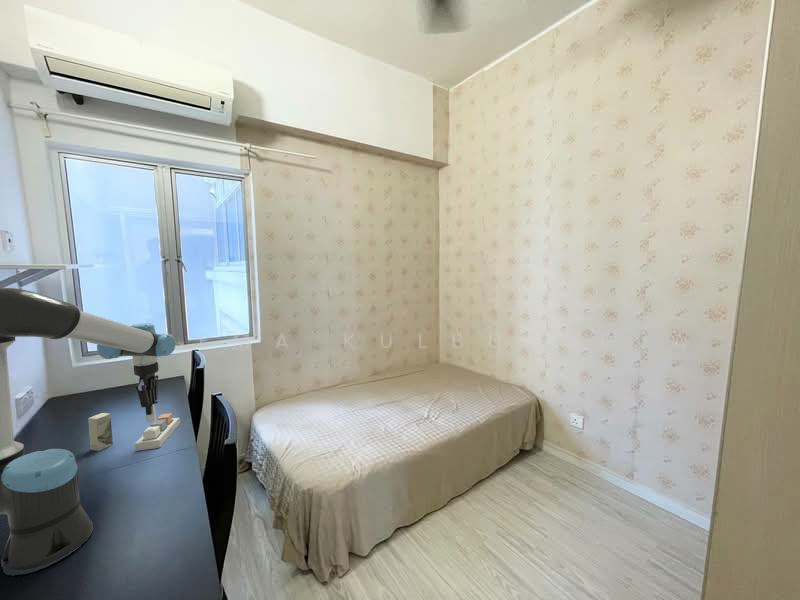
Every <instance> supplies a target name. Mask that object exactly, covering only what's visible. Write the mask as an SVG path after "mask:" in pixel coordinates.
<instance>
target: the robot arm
mask: <svg viewBox="0 0 800 600" xmlns="http://www.w3.org/2000/svg"><path fill="white" fill-rule="evenodd" d="M17 337H18V338H19V337H27V338H29V337H30V338H32V337H33V338H34V337H35V338H45V339H50V340H60V339H64V338H67V339H71V340H75V341H81V342H85V343H89V344H95V345H96V350H97V354H98V355H99V356H100V357H101V358H103V359H105V360H112V359H118V358H119V357H132V364H133V374H134V375H135V376H138V377H139V378H138V379H139V380H138V383H139V385H136V386H135V390H136V391H137V394H138V398H139V403H140V406H141V407H140V408H144V412H145V421H146V423H153V422H154V421H156V420H157V414H156V413H157V412H156V404H158V403H159V402H158V401H157V400H158V394H159V393H158V387H159V384H158V382H159V375H156V373H158V372H159V369H160V367H159V362H158V360H159V359H158V358H159V357H167V356H169V355H171V354H173V352H174V351H175V349H176V343H177V342H176V339H175V337H174V336H173V335H171V334H164V333H161V334H159V333H157V332H156V329H155V325H154V324H153V323H149V322H145V323H135V324H132V325H127V324H124V323H121V322H119V321H114V320H111V319H108V318H104V317H102V316H99V315H95V314H91V313H90V312H89V313H88V312H85V311H83V310H81V309H80V308H79V306H77V305H76V304H74V303H70V302H66V301H64V300H60V299H59V298H58V299H57V298H55V297H52V296H48V295H44V294H41V293H38V292H34V291H31V290H26V289H21V288H15V287H0V515H6V516H7V521H8V522H7V523H8V526H9V536H8V539H7V542H6V544H5V548H4V551H3V554H2V556H1V568H2V567H3V568H5V569H8V570H26V569H32V568H36V567H38V566H41V565H45V564H47V563H50V562H52V561H54V560H57V559H59V558H61V557H62V556H64V555H66V554H68V553H69V552H70V551H73V550H74V549H76V548H77V547H79V546H80V545H82V544H83V543H84V542H85V541H86V540H87V539H88V538H89V536H90V535H91V533H92V534H93V532H94V527H93V521H92V519H91V518H90V516H89V515H88V514H87V512H86V511H85V510H84V509H85V508H83V506H82V505H81V497H80V496H81V495H80V486H79V485H80V484H79V474H78V473H79V471H78V464H77V462H76V457H75V455H74V453H73V452H71V451H70V450H68V449H63V448H49V449H45V450H42V451H41V450H37V451H33V452H30V453H27V454H25V446H24V444H23V443H22V442H20V441H19V442H18V441H15V438H14V426H13V425H14V423H13V414H12V411H13V410H12V402H11V401H12V399H11V398H12V397H11V389H10V387H11V385H10V376H9V366H8V363H9V362H8V354H7V353H8V352H7V350H8V348H9V347H10V346H11V345H13V344H14V343H15V342H16V338H17ZM92 531H93V532H92ZM91 536H92V535H91ZM89 539H90V538H89ZM89 539H88V540H89Z"/></svg>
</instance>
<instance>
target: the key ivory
mask: <svg viewBox="0 0 800 600" xmlns="http://www.w3.org/2000/svg"><path fill="white" fill-rule="evenodd" d="M159 434H160V426H155V427H150V426H147V428H145V430H144V431H142V436H143V438H144V440H148V439H155V438H157V437H158V435H159Z"/></svg>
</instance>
